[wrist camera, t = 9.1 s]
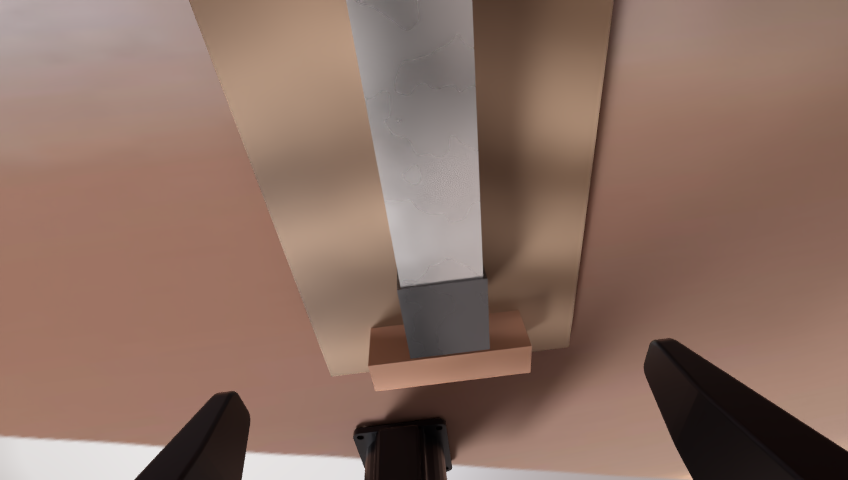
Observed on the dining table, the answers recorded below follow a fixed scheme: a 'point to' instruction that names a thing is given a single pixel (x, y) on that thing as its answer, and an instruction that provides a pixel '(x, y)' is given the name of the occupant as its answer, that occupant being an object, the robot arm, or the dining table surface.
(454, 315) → the two-tone gray brick
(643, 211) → the dining table surface
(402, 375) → the lock cradle
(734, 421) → the robot arm
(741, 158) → the dining table surface
